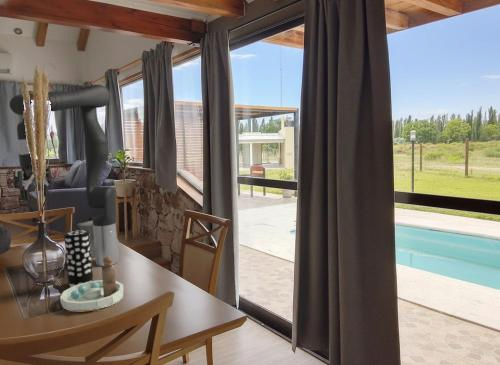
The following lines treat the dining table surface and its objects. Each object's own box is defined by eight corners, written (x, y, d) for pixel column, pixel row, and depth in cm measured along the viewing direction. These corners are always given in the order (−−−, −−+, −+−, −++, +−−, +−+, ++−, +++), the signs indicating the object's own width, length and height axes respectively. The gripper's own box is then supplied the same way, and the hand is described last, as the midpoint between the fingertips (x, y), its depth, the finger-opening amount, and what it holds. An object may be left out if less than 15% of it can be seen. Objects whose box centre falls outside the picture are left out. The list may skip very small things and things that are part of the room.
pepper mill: (108, 292, 134) (105, 254, 133) (119, 293, 133) (116, 255, 132) (101, 297, 130) (98, 258, 129) (111, 298, 129) (108, 259, 128)
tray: (88, 286, 143) (87, 276, 143) (134, 291, 138) (133, 280, 137) (48, 309, 125) (47, 297, 125) (99, 315, 120) (98, 302, 119)
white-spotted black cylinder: (69, 283, 147) (65, 231, 145) (93, 280, 150) (89, 228, 148) (68, 291, 139) (63, 236, 137) (93, 287, 142) (88, 233, 140)
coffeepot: (74, 258, 178) (71, 219, 176) (84, 252, 188) (80, 215, 186) (107, 257, 178) (104, 218, 176) (115, 251, 187) (113, 214, 185)
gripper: (38, 151, 145) (42, 195, 147) (4, 153, 132) (9, 201, 134) (55, 151, 143) (59, 195, 145) (22, 153, 130) (27, 202, 132)
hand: (35, 198), depth 139 cm, fingers open, 8 cm apart
